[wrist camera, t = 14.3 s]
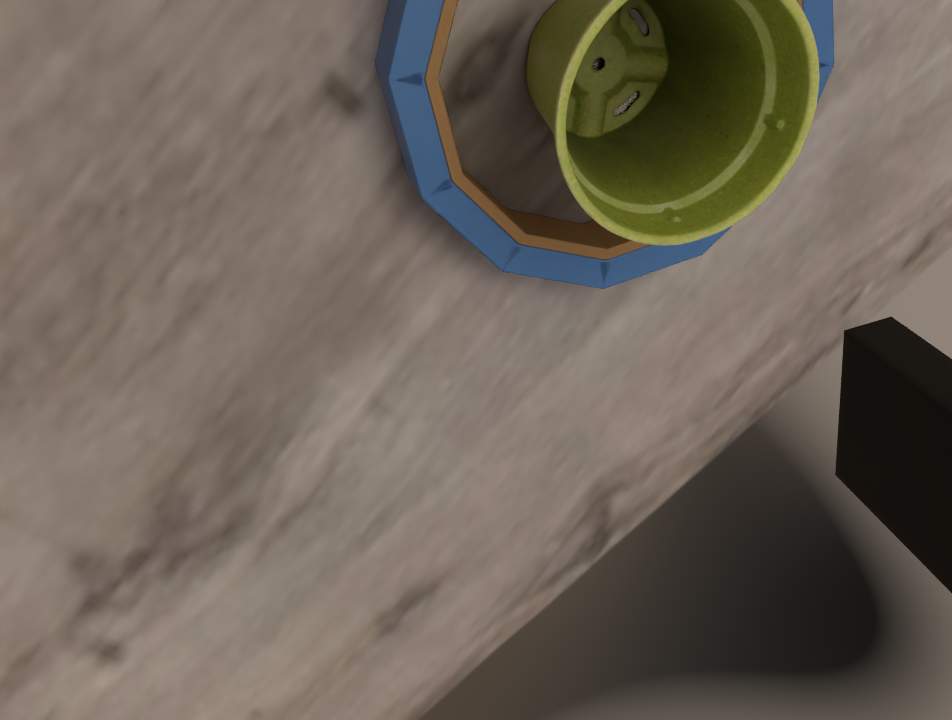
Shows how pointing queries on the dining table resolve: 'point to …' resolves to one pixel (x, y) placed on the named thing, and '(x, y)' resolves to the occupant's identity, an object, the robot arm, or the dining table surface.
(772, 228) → the dining table surface
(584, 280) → the tape roll
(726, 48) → the plant pot
